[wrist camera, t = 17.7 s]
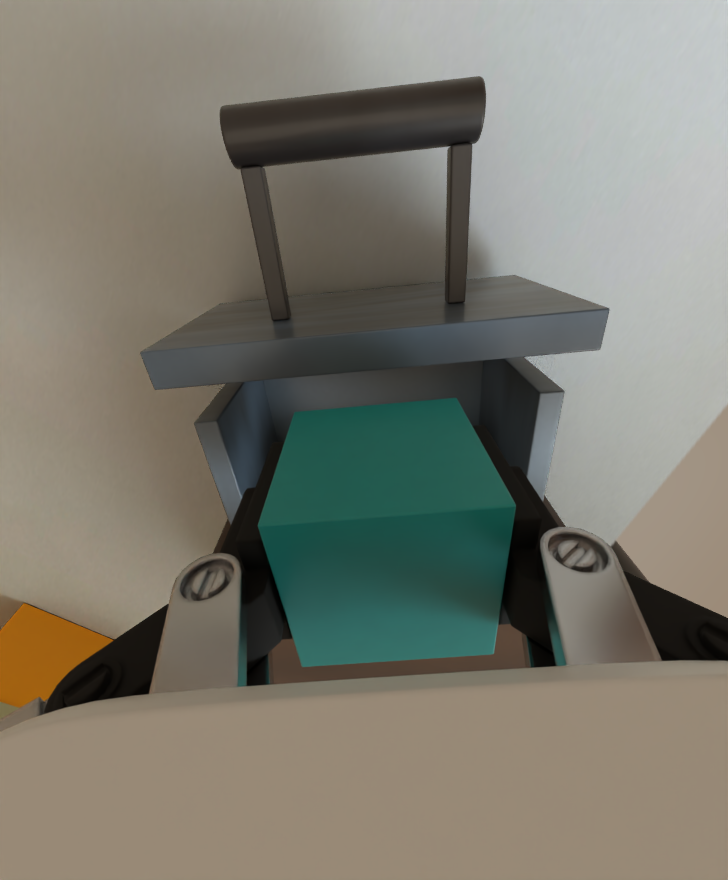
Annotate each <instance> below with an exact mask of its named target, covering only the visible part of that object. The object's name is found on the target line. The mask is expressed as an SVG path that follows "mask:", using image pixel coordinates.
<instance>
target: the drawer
mask: <svg viewBox="0 0 728 880" xmlns="http://www.w3.org/2000/svg"><path fill="white" fill-rule="evenodd" d="M485 107H486V90H485V83H484V79H483V78H482V77H480V76H478V77H469V78H461V79H452V80H443V81H435V82H426V83H417V84H409V85H400V86H391V87H382V88H374V89H365V90H356V91H348V92H339V93H330V94H322V95H313V96H304V97H296V98H287V99H278V100H269V101H261V102H252V103H243V104H235V105H226V106H222V107H221V108H220V125H221V131H222V136H223V140H224V144H225V147H226V150H227V153H228V156H229V158H230V160H231V162H232V164H233V166H234V167H235V168H236V169H241V174H242V179H243V184H244V188H245V193H246V198H247V203H248V208H249V212H250V217H251V222H252V227H253V232H254V236H255V241H256V246H257V251H258V256H259V260H260V265H261V270H262V275H263V280H264V284H265V289H266V294H267V299H263V300H253V301H243V302H232V303H222V304H219V305H217V306H215V307H214V308H212V309H211V310H209V311H207V312H206V313H204V314H202V315H201V316H199V317H197V318H196V319H194V320H193V321H191V322H189V323H188V324H186V325H184V326H183V327H181V328H179V329H178V330H176V331H175V332H173V333H171V334H170V335H168V336H166V337H165V338H163V339H161V340H160V341H158V342H156V343H155V344H153V345H152V346H150V347H148V348H147V349H145V350H143V351H142V352H140V354H141V357H142V359H143V362H144V364H145V367H146V369H147V372H148V374H149V377H150V379H151V382H152V384H153V387H154V389H155V390H160V389H172V388H183V387H194V386H205V385H216V384H225V385H224V387H223V388H222V389H221V390H220V392H219V393H218V394H217V395H216V397H215V398H214V399H213V400H212V402H211V403H210V404H209V405H208V407H207V408H206V409H205V410H204V412H203V413H202V414H201V415H200V416H199V418H198V419H197V420H196V421H195V423H194V425H195V428H196V431H197V433H198V436H199V439H200V442H201V445H202V447H203V450H204V453H205V456H206V458H207V461H208V464H209V467H210V470H211V472H212V475H213V478H214V481H215V483H216V486H217V489H218V492H219V495H220V497H221V500H222V503H223V506H224V508H225V511H226V514H227V517H228V520H229V522H230V525H231V524H232V521H233V519H234V516H235V514H236V512H237V509H238V507H239V504H240V502H241V499H242V497H243V494H244V492H245V491H246V489H247V488H252V487H256V485H257V482H258V479H259V477H260V474H261V471H262V469H263V466H264V463H265V461H266V458H267V456H268V453H269V450H270V448H271V445H272V443H275V442H285V439H286V436H287V433H288V430H289V427H290V424H291V421H292V418H293V415H294V412H300V411H311V410H323V409H334V408H345V407H357V406H368V405H379V404H391V403H402V402H413V401H425V400H436V399H448V398H457V400H458V401H459V403H460V405H461V407H462V409H463V410H464V412H465V414H466V416H467V418H468V419H469V421H470V423H471V425H472V426H474V425H485V426H486V428H487V430H488V431H489V433H490V435H491V436H492V438H493V439H494V441H495V443H496V444H497V446H498V448H499V449H500V451H501V452H502V454H503V456H504V457H505V459H506V461H507V462H508V464H509V465H510V466H518V467H520V468H521V469H522V471H523V472H524V474H525V475H526V477H527V478H528V480H529V481H530V483H531V484H532V486H533V487H534V489H535V491H536V492H537V494H538V495H539V497H540V498H541V500H542V501H543V500H544V495H545V489H546V484H547V479H548V474H549V469H550V464H551V459H552V453H553V448H554V443H555V438H556V433H557V428H558V423H559V418H560V412H561V407H562V402H563V397H564V390H563V389H561V388H560V387H559V386H558V385H557V384H555V383H554V382H553V381H552V380H551V379H549V378H548V377H547V376H546V375H545V374H543V373H542V372H541V371H540V370H539V369H537V368H536V367H535V366H534V365H533V364H531V363H530V362H529V361H528V360H526V359H525V358H524V357H527V356H538V355H549V354H560V353H571V352H582V351H594V350H600V348H601V344H602V340H603V336H604V331H605V327H606V323H607V318H608V314H609V308H607V307H604V306H601V305H598V304H595V303H592V302H590V301H587V300H584V299H581V298H578V297H575V296H573V295H570V294H567V293H564V292H561V291H559V290H556V289H553V288H550V287H547V286H544V285H542V284H539V283H536V282H533V281H530V280H527V279H525V278H522V277H519V276H516V275H510V276H500V277H489V278H479V279H469V280H466V274H467V252H468V230H469V207H470V185H471V163H472V144H474V143H476V142H477V141H478V140H479V138H480V135H481V132H482V128H483V123H484V117H485ZM448 146H451V147H449V148H448V154H447V208H446V262H445V282H438V283H428V284H417V285H407V286H397V287H387V288H376V289H366V290H356V291H346V292H335V293H325V294H315V295H304V296H294V297H288V294H287V288H286V283H285V277H284V272H283V266H282V261H281V255H280V250H279V244H278V239H277V233H276V228H275V222H274V217H273V211H272V206H271V200H270V195H269V189H268V184H267V178H266V173H265V169H264V168H263V167H265V166H274V165H283V164H292V163H301V162H311V161H320V160H329V159H338V158H347V157H356V156H366V155H375V154H384V153H393V152H402V151H411V150H420V149H430V148H439V147H448Z"/></svg>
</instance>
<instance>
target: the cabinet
mask: <svg viewBox="0 0 728 880" xmlns="http://www.w3.org/2000/svg"><path fill="white" fill-rule="evenodd" d="M543 503H544V504H545V506H546V507H547V509H548V510H549V512H550V513H551V515H552V517H553V518H554V520H555V521H556V523H557V524H558V526H559V527H566V526H565V525H564V523H563V522H562V520H561V519H560V517H559V516H558V515H557V513H556V512H555V510H554V509H553V507H552V506H551V504H550V503H549V501H548V500H547V498H546V497H545V495H544V500H543ZM230 526H231V525H230V522H229V520H227V522H226V524H225V527H224V529H223V531H222V533H221V536H220V538H219V540H218V543H217V545H216V547H215V550H214V552H213V554H216V553H220V550H221V548H222V546H223V543H224V541H225V538H226V536H227V533H228V531H229V529H230ZM272 656H273V677H274V684H287V683H301V682H315V681H330V680H345V679H360V678H376V677H391V676H406V675H422V674H438V673H453V672H469V671H485V670H502V669H519V668H526V665H525V658H524V650H523V643H522V632H520V631H518V630H517V629H515V628H514V627H512V626H511V624H504V625H499V623H498V629H497V636H496V642H495V649H494V654H491V655H476V656H461V657H446V658H431V659H416V660H401V661H386V662H371V663H356V664H341V665H325V666H310V667H302V666H301V663H300V660H299V656H298V653H297V650H296V647H295V644H294V640H293V637H292V639H285V640H281V642H280V643H279V644H278V645H277V646H276V647H274V648H273V649H272Z"/></svg>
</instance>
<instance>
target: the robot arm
mask: <svg viewBox="0 0 728 880" xmlns="http://www.w3.org/2000/svg"><path fill="white" fill-rule="evenodd" d="M472 427H473V428H474V430H475V432H476V434H477V436H478V437H479V439H480V441H481V443H482V445H483V446H484V448H485V450H486V452H487V454H488V455H489V457H490V459H491V461H492V463H493V464H494V466H495V468H496V470H497V472H498V473H499V475H500V477H501V479H502V481H503V482H504V484H505V486H506V488H507V490H508V492H509V493H510V495H511V497H512V499H513V501H514V502H515V504H516V510H515V516H514V523H513V530H512V536H511V543H510V549H509V556H508V563H507V569H506V576H505V583H504V589H503V596H502V603H501V609H500V616H499V622H498V623H499V625H504V624H511V626H512V627H514V628H515V629H517V630H518V631H520V632H522V643H523V650H524V658H525V665H526V668H519V669H502V670H485V671H469V672H453V673H438V674H422V675H406V676H391V677H376V678H360V679H345V680H330V681H315V682H301V683H287V684H274V677H273V656H272V649H273V648H274V647H276V646H277V645H278V644H279V643H280V642H281V640H285V639H292V634H291V631H290V628H289V624H288V621H287V618H286V615H285V612H284V608H283V605H282V602H281V599H280V596H279V593H278V589H277V586H276V583H275V580H274V577H273V573H272V570H271V567H270V564H269V561H268V557H267V554H266V551H265V548H264V545H263V541H262V538H261V535H260V532H259V529H258V523H259V520H260V517H261V513H262V510H263V507H264V504H265V501H266V498H267V495H268V492H269V489H270V486H271V483H272V479H273V476H274V473H275V470H276V467H277V464H278V461H279V458H280V455H281V452H282V449H283V446H284V442H275V443H272V445H271V448H270V450H269V453H268V456H267V458H266V461H265V463H264V466H263V469H262V471H261V474H260V477H259V479H258V482H257V485H256V487H252V488H247V489H246V491H245V492H244V494H243V497H242V499H241V502H240V504H239V507H238V509H237V512H236V514H235V516H234V519H233V521H232V524H231V526H230V529H229V531H228V533H227V536H226V538H225V541H224V543H223V546H222V548H221V550H220V553H216V554H210V555H207V556H204V557H201V558H199V559H197V560H196V561H194V562H192V563H191V564H189V565H188V566H187V567H186V568H185V569H184V570H182V572H181V573H180V574H179V576H178V577H177V578H176V580H175V583H174V585H173V588H172V592H171V597H170V601H169V604H167V605H166V606H164V607H163V608H161V609H160V610H158V611H157V612H155V613H154V614H152V615H151V616H149V617H148V618H146V619H145V620H143V621H142V622H140V623H139V624H137V625H136V626H134V627H133V628H131V629H130V630H129V631H127V632H126V633H124V634H123V635H121V636H120V637H118V638H117V639H115V640H114V641H112V642H111V643H109V644H108V645H106V646H105V647H103V648H102V649H100V650H99V651H97V652H96V653H94V654H93V655H91V656H90V657H89V658H87V659H86V660H84V661H83V662H81V663H80V664H79V665H77V666H76V667H75V668H74V669H72V670H71V671H70V672H69V673H68V674H67V675H66V676H65V677H64V678H63V679H62V680H61V681H60V682H59V683H58V684H57V686H56V687H55V689H54V691H53V692H52V694H51V695H50V697H49V698H48V699H46V700H45V701H43V700H42V699H41V698H40V697H38V698H36V699H34V700H33V701H31V702H29V703H27V704H26V705H24V706H22V707H20V708H19V709H17V710H15V711H13V712H12V713H10V714H8V715H6V716H5V717H3V718H1V719H0V880H728V618H726V617H724V616H722V615H720V614H718V613H715V612H713V611H711V610H709V609H706V608H704V607H702V606H700V605H698V604H695V603H693V602H691V601H689V600H687V599H684V598H682V597H680V596H678V595H676V594H673V593H671V592H669V591H667V590H664V589H662V588H660V587H658V586H656V585H653V584H651V583H649V582H647V581H645V580H642V579H640V578H638V577H636V576H633V575H631V574H629V573H627V572H625V571H623V570H622V568H621V566H620V563H619V561H618V559H617V556H616V554H615V553H614V551H613V550H612V548H611V547H610V546H609V545H608V544H607V543H606V542H605V541H604V540H603V539H601V538H599V537H598V536H596V535H594V534H593V533H590V532H588V531H585V530H582V529H578V528H573V527H559V526H558V524H557V523H556V521H555V520H554V518H553V517H552V515H551V513H550V512H549V510H548V509H547V507H546V506H545V504H544V503H543V501H542V500H541V498H540V497H539V495H538V494H537V492H536V491H535V489H534V487H533V486H532V484H531V483H530V481H529V480H528V478H527V477H526V475H525V474H524V472H523V471H522V469H521V468H520V467H518V466H510V465H509V464H508V462H507V461H506V459H505V457H504V456H503V454H502V452H501V451H500V449H499V448H498V446H497V444H496V443H495V441H494V439H493V438H492V436H491V435H490V433H489V431H488V430H487V428H486V426H485V425H474V426H472Z"/></svg>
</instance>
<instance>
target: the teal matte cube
mask: <svg viewBox="0 0 728 880" xmlns="http://www.w3.org/2000/svg"><path fill="white" fill-rule="evenodd" d="M515 510H516V504H515V502H514V501H513V499H512V497H511V495H510V493H509V492H508V490H507V488H506V486H505V484H504V482H503V481H502V479H501V477H500V475H499V473H498V472H497V470H496V468H495V466H494V464H493V463H492V461H491V459H490V457H489V455H488V454H487V452H486V450H485V448H484V446H483V445H482V443H481V441H480V439H479V437H478V436H477V434H476V432H475V430H474V428H473V427H472V425H471V423H470V421H469V419H468V418H467V416H466V414H465V412H464V410H463V409H462V407H461V405H460V403H459V401H458V400H457V398H448V399H436V400H425V401H413V402H402V403H391V404H379V405H368V406H357V407H345V408H334V409H323V410H311V411H300V412H294V415H293V418H292V421H291V424H290V427H289V430H288V433H287V436H286V439H285V442H284V446H283V449H282V452H281V455H280V458H279V461H278V464H277V467H276V470H275V473H274V476H273V479H272V483H271V486H270V489H269V492H268V495H267V498H266V501H265V504H264V507H263V510H262V513H261V517H260V520H259V523H258V529H259V532H260V535H261V538H262V541H263V545H264V548H265V551H266V554H267V557H268V561H269V564H270V567H271V570H272V573H273V577H274V580H275V583H276V586H277V589H278V593H279V596H280V599H281V602H282V605H283V608H284V612H285V615H286V618H287V621H288V624H289V628H290V631H291V634H292V637H293V640H294V644H295V647H296V650H297V653H298V656H299V660H300V663H301V666H302V667H310V666H325V665H341V664H356V663H371V662H386V661H401V660H416V659H431V658H446V657H461V656H476V655H491V654H494V649H495V642H496V636H497V629H498V622H499V616H500V609H501V603H502V596H503V589H504V583H505V576H506V569H507V563H508V556H509V549H510V543H511V536H512V530H513V523H514V516H515Z"/></svg>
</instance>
